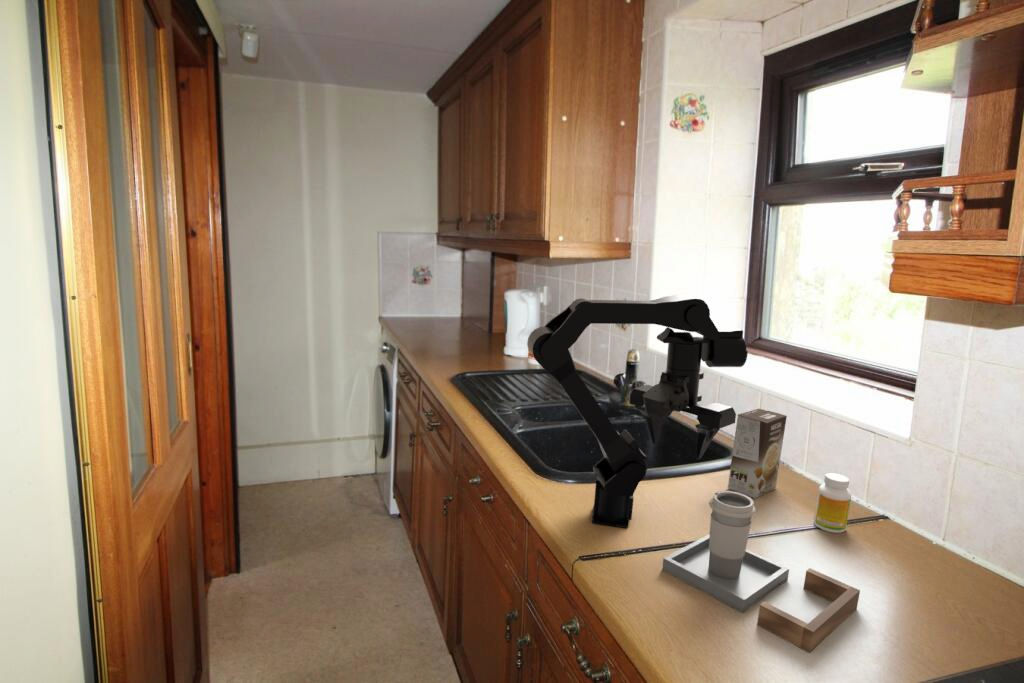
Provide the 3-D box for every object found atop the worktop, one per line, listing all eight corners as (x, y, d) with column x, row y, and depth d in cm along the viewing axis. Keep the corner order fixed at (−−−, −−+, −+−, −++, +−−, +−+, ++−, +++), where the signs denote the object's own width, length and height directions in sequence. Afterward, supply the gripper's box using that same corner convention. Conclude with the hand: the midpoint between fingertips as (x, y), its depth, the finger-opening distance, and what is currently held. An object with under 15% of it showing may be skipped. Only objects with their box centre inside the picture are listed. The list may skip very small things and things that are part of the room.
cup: (712, 554, 103) (721, 485, 101) (753, 570, 99) (763, 498, 97) (694, 571, 98) (702, 499, 96) (736, 589, 94) (746, 513, 91)
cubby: (757, 624, 87) (759, 604, 86) (806, 586, 97) (809, 568, 96) (809, 652, 81) (813, 632, 81) (856, 609, 91) (860, 590, 91)
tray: (662, 569, 99) (663, 558, 99) (709, 543, 108) (710, 533, 107) (742, 612, 89) (744, 599, 89) (787, 580, 98) (789, 568, 98)
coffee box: (756, 499, 127) (766, 423, 124) (726, 488, 131) (736, 414, 128) (776, 488, 133) (787, 415, 130) (748, 478, 137) (757, 407, 134)
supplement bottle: (849, 535, 114) (858, 485, 112) (817, 531, 115) (825, 481, 113) (840, 522, 119) (848, 473, 117) (810, 517, 120) (817, 469, 118)
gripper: (612, 363, 113) (607, 446, 116) (704, 385, 99) (696, 479, 102) (650, 355, 120) (644, 433, 123) (741, 375, 106) (732, 462, 109)
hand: (676, 451), depth 114 cm, fingers open, 9 cm apart
